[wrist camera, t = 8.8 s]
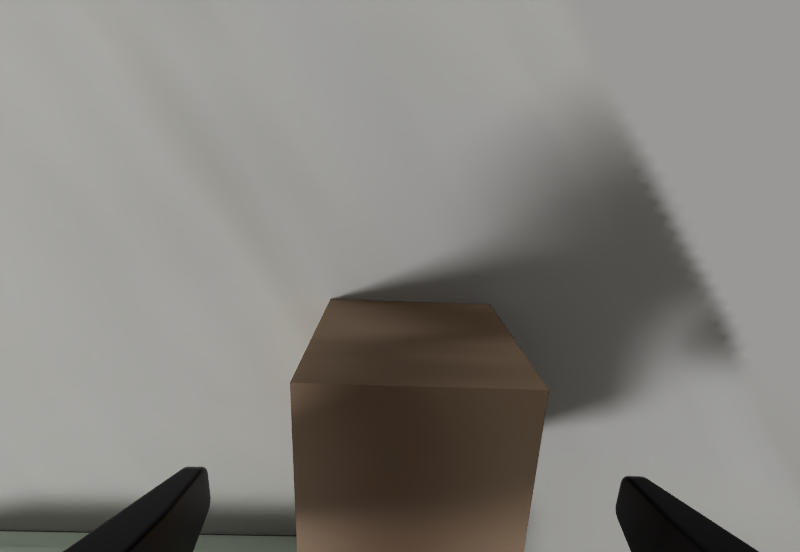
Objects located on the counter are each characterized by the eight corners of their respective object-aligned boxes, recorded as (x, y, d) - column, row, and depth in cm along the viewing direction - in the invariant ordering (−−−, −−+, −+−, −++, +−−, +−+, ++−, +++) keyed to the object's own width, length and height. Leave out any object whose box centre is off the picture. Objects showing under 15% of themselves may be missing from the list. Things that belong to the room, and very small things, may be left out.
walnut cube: (489, 303, 12) (548, 389, 8) (475, 438, 14) (518, 584, 9) (331, 298, 12) (290, 382, 8) (332, 434, 14) (298, 580, 9)
